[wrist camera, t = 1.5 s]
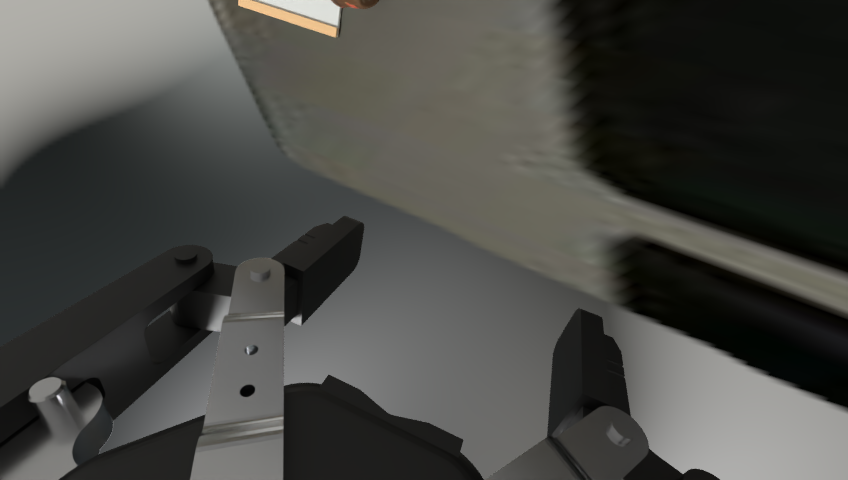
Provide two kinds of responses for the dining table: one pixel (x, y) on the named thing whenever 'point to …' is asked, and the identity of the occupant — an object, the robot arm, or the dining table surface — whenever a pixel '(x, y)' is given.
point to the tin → (355, 3)
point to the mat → (301, 13)
